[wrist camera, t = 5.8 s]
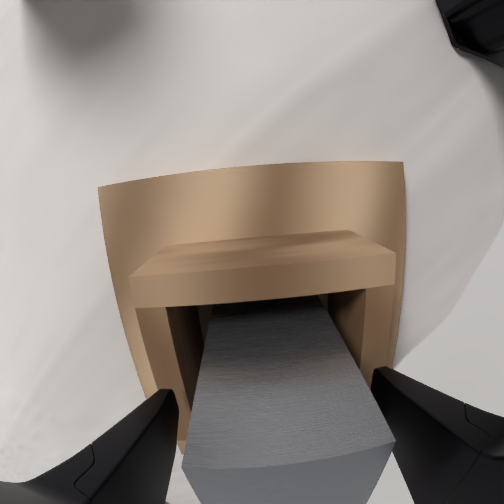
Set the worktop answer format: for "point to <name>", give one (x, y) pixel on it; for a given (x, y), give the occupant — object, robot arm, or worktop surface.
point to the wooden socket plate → (254, 258)
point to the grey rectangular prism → (282, 410)
